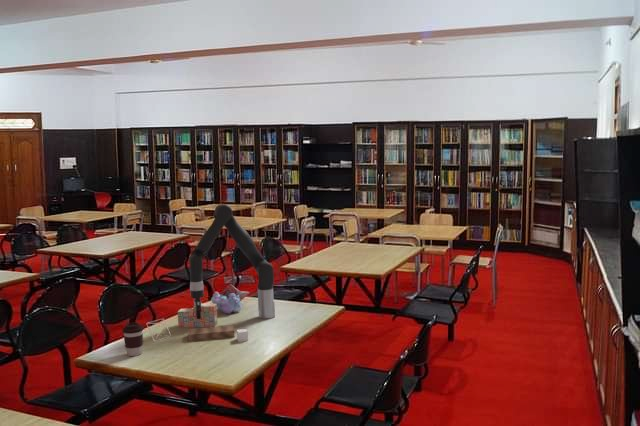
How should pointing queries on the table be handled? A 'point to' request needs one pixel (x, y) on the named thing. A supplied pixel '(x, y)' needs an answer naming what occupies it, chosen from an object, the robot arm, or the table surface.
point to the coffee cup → (133, 338)
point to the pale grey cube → (242, 335)
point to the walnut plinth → (210, 333)
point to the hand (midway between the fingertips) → (198, 316)
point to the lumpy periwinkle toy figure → (229, 299)
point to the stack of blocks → (190, 316)
